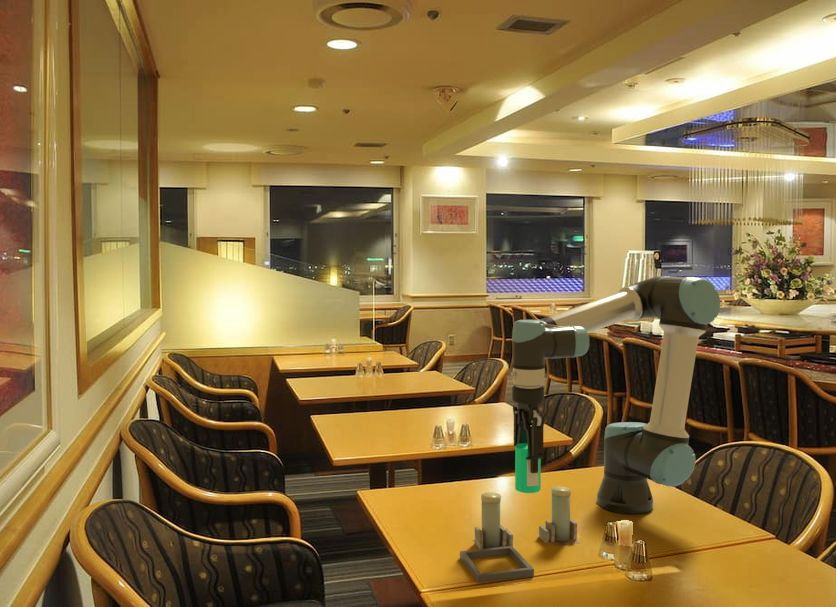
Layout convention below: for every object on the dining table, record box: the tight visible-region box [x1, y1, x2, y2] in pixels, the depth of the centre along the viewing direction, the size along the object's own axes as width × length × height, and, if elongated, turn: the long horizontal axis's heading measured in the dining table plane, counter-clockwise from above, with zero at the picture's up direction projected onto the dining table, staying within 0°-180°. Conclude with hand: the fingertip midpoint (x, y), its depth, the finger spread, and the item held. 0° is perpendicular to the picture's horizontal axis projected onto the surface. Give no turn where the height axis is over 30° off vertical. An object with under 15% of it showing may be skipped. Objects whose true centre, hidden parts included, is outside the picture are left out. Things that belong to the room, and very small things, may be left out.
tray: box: [459, 545, 535, 588], centre depth 159 cm, size 13×13×3 cm
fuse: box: [480, 491, 502, 548], centre depth 170 cm, size 5×5×12 cm
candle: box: [514, 443, 542, 494], centre depth 172 cm, size 6×6×12 cm
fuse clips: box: [472, 517, 581, 549], centre depth 171 cm, size 25×12×5 cm, turn 104°
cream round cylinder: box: [550, 485, 572, 541], centre depth 175 cm, size 5×5×12 cm
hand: (527, 481), depth 172 cm, fingers closed on candle, 5 cm apart
